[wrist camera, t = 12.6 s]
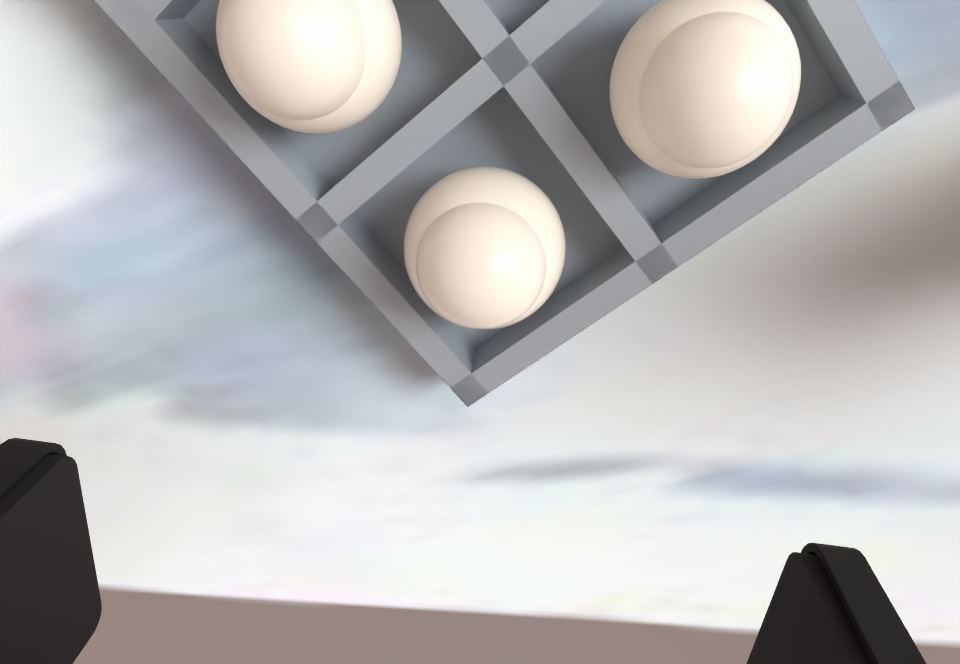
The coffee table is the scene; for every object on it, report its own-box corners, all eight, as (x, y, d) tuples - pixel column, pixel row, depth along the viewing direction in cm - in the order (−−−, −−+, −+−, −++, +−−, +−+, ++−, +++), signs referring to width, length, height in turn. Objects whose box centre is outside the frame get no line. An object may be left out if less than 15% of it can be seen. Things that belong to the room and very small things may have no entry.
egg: (422, 142, 24) (388, 185, 19) (573, 161, 24) (584, 209, 19) (412, 284, 26) (380, 358, 21) (551, 301, 26) (555, 380, 21)
